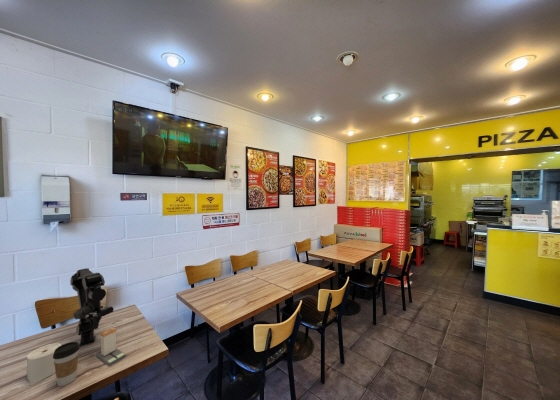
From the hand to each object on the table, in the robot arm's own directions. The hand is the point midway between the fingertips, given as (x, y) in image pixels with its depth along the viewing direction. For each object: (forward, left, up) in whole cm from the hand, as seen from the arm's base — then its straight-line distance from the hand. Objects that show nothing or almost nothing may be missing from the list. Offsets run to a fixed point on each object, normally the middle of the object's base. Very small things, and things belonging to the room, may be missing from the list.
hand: (94, 328), depth 114 cm
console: (+10, +7, -12) cm, 17 cm away
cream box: (+8, +6, -10) cm, 14 cm away
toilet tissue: (+5, -17, -12) cm, 22 cm away
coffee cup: (+17, -8, -12) cm, 22 cm away
